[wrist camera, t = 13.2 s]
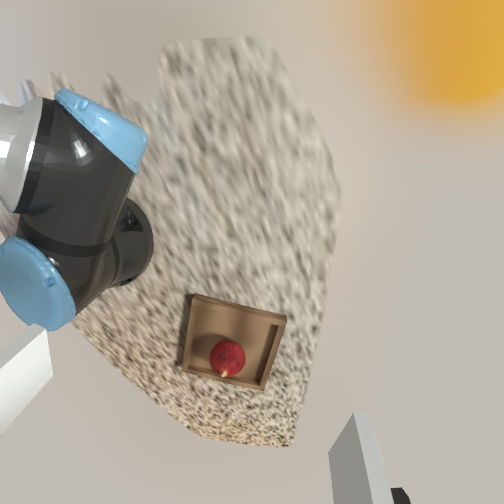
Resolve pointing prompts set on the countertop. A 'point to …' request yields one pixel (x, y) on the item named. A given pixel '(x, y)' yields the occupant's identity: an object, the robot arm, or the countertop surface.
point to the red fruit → (227, 358)
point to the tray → (232, 339)
